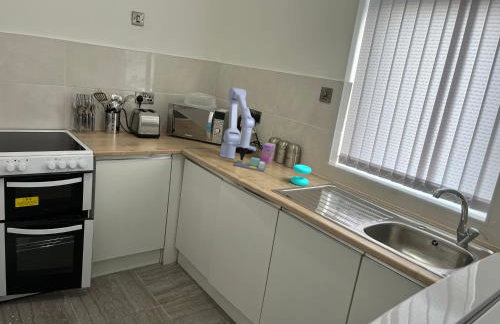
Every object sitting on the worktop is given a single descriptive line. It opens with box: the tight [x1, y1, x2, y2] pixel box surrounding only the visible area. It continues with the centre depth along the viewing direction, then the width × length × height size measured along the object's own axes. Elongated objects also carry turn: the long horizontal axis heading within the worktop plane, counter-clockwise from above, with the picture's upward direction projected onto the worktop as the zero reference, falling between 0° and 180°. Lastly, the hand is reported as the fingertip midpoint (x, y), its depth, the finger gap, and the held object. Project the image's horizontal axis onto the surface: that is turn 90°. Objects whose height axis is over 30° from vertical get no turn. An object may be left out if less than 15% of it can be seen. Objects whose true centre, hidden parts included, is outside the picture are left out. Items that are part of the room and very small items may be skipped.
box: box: [259, 142, 277, 165], centre depth 253 cm, size 10×6×12 cm, turn 161°
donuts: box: [290, 164, 312, 187], centre depth 214 cm, size 10×10×10 cm
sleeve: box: [249, 156, 261, 166], centre depth 231 cm, size 5×5×4 cm
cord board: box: [234, 159, 267, 173], centre depth 232 cm, size 18×12×4 cm, turn 83°
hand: (241, 160), depth 232 cm, fingers closed
